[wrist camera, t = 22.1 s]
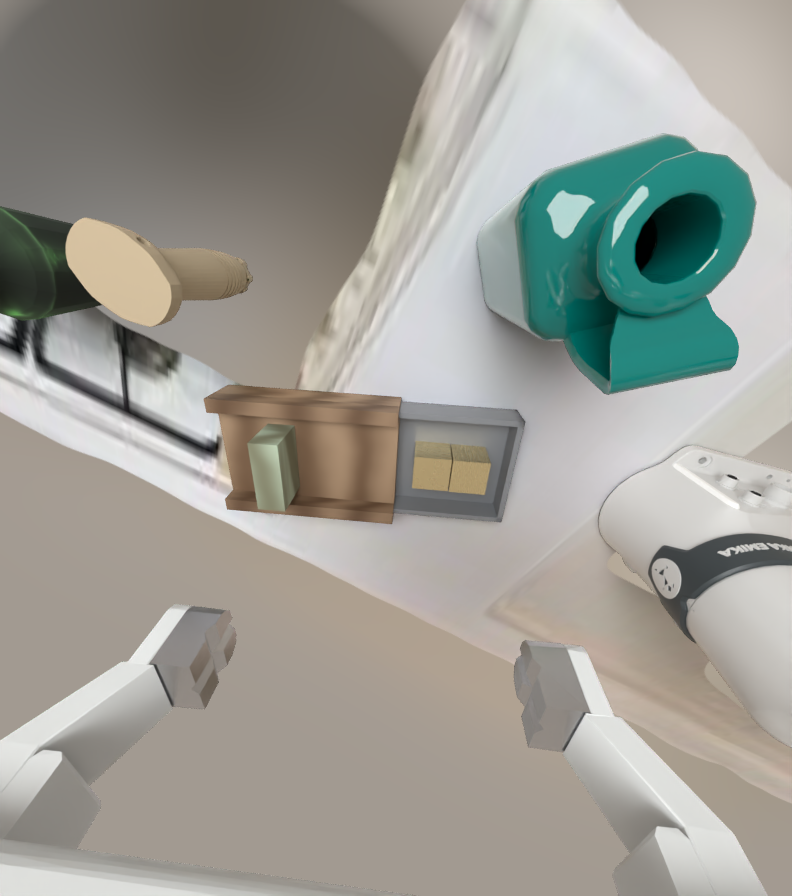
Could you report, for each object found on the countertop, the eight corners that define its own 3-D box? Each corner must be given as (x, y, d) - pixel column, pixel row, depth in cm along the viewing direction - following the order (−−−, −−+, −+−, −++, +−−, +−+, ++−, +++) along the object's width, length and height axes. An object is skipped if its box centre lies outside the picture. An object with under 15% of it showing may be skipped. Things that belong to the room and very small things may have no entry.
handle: (253, 316, 36) (153, 341, 23) (198, 271, 35) (56, 270, 21) (277, 277, 34) (183, 280, 21) (220, 228, 33) (79, 197, 19)
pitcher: (473, 221, 31) (554, 134, 11) (572, 191, 29) (863, 30, 10) (488, 332, 35) (566, 406, 16) (576, 310, 34) (786, 362, 14)
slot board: (401, 397, 39) (398, 413, 34) (395, 499, 45) (391, 524, 41) (228, 384, 40) (203, 398, 35) (246, 486, 46) (227, 509, 42)
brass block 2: (450, 444, 40) (485, 446, 40) (446, 473, 42) (479, 476, 42) (453, 460, 37) (491, 463, 37) (448, 491, 39) (484, 494, 38)
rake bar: (294, 425, 38) (277, 445, 34) (300, 486, 42) (285, 511, 37) (267, 423, 38) (247, 443, 34) (275, 484, 42) (258, 509, 38)
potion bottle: (65, 200, 33) (-280, 131, 17) (150, 248, 34) (-94, 226, 18) (59, 283, 36) (-232, 292, 20) (136, 324, 37) (-79, 362, 21)
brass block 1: (449, 443, 40) (452, 460, 37) (445, 472, 42) (447, 491, 39) (415, 440, 41) (414, 456, 37) (413, 470, 42) (411, 488, 39)
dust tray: (517, 410, 39) (525, 422, 35) (495, 504, 44) (501, 522, 41) (401, 401, 39) (399, 412, 36) (395, 496, 45) (393, 512, 42)
